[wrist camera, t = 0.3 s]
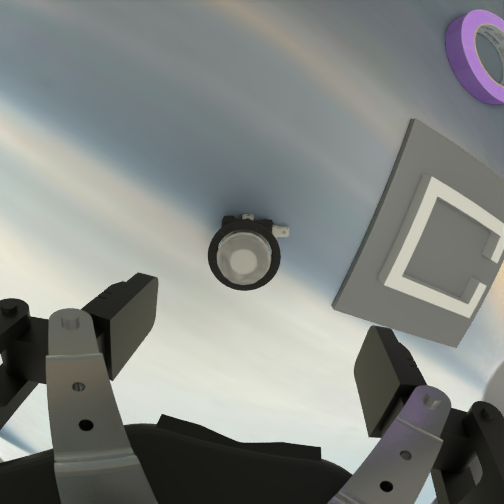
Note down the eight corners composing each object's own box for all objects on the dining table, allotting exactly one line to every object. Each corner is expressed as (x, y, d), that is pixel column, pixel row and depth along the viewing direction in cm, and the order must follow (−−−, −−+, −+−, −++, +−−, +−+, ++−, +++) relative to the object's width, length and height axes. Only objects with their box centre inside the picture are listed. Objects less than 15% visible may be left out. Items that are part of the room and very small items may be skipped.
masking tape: (519, 107, 27) (538, 106, 23) (456, 103, 28) (475, 100, 24) (499, 25, 23) (516, 19, 20) (433, 11, 24) (448, 1, 21)
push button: (289, 204, 32) (303, 227, 22) (285, 255, 33) (296, 298, 24) (221, 201, 32) (205, 223, 22) (220, 252, 33) (206, 294, 24)
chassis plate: (411, 119, 28) (424, 117, 26) (522, 198, 30) (536, 202, 27) (331, 305, 35) (337, 318, 32) (453, 344, 37) (462, 355, 34)
